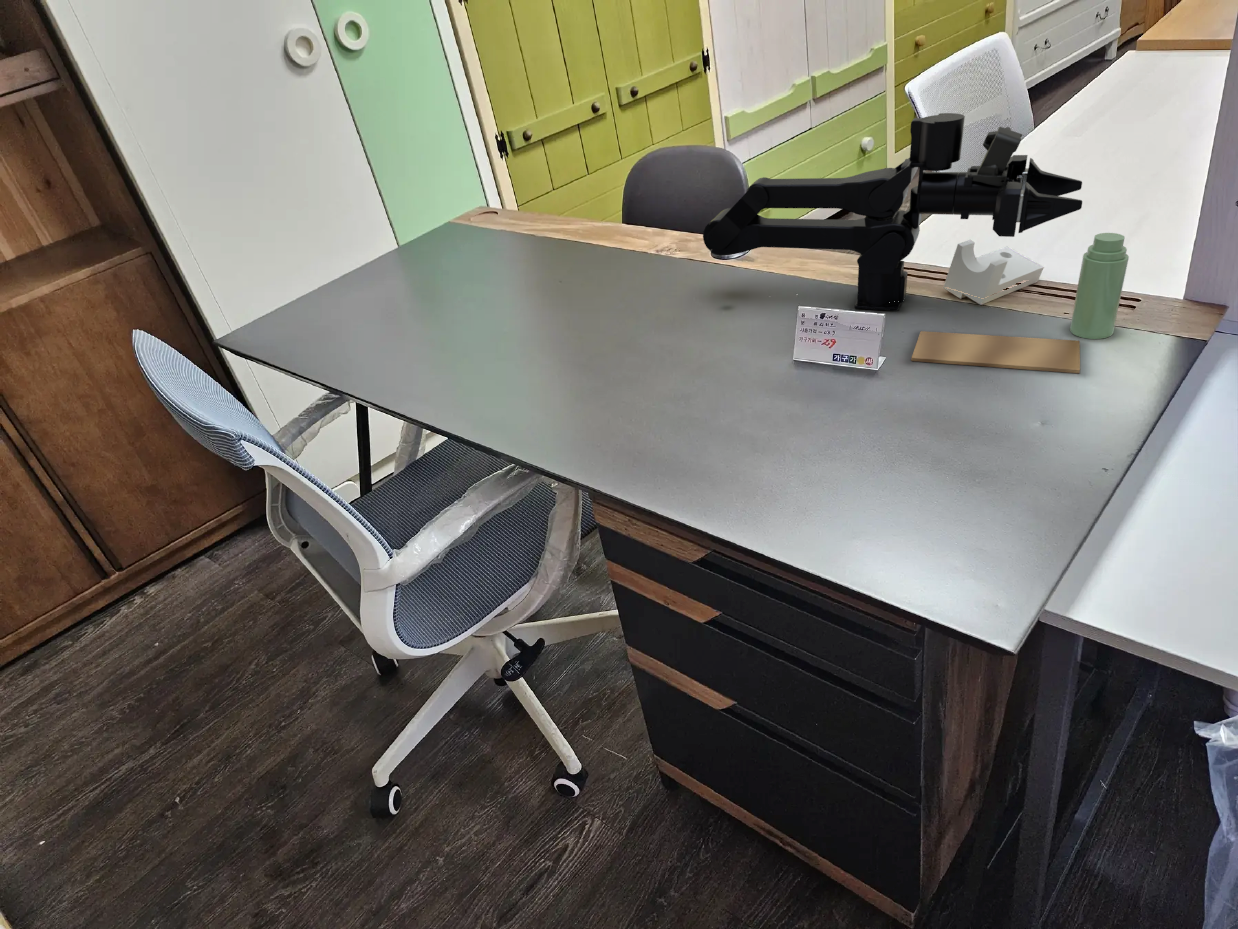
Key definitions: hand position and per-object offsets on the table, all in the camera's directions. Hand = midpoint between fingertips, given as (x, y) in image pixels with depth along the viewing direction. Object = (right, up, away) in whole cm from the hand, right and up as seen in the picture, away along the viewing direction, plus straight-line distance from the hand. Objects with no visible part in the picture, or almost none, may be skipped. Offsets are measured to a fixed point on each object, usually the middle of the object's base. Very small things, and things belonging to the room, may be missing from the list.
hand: (1081, 194), depth 112 cm
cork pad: (-12, -21, 0) cm, 24 cm away
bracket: (-3, -9, +18) cm, 21 cm away
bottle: (+2, -18, +2) cm, 18 cm away
